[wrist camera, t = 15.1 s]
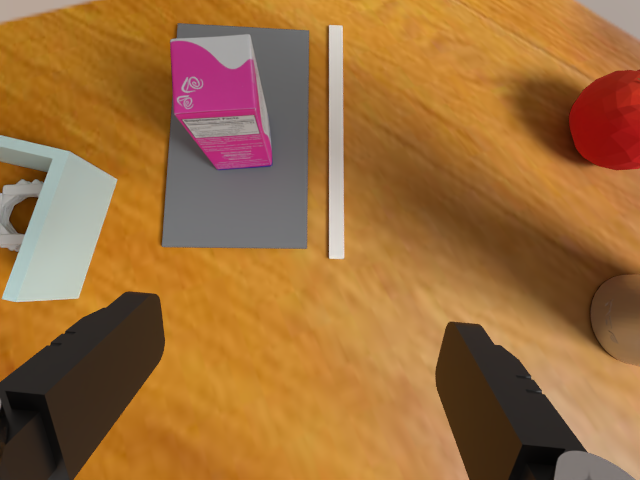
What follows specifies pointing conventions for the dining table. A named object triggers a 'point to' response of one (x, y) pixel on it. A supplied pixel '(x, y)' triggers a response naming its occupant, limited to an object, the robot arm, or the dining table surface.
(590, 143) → the tomato
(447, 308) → the dining table surface
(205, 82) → the supplement box
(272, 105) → the mat
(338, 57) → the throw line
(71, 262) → the l-shaped corner panel
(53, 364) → the robot arm
